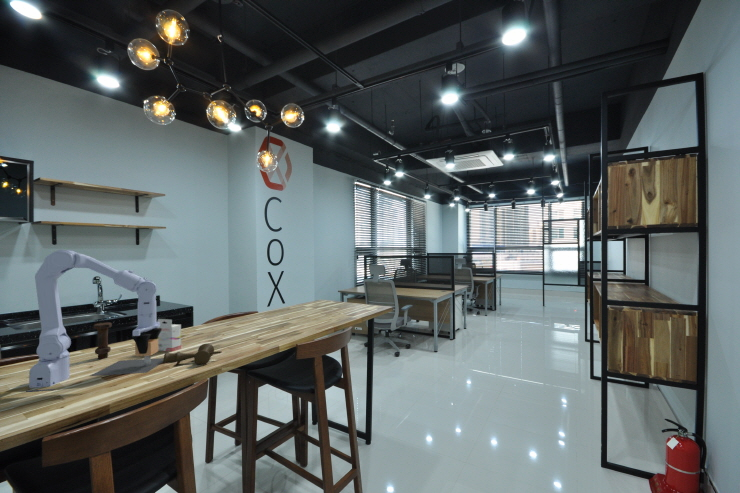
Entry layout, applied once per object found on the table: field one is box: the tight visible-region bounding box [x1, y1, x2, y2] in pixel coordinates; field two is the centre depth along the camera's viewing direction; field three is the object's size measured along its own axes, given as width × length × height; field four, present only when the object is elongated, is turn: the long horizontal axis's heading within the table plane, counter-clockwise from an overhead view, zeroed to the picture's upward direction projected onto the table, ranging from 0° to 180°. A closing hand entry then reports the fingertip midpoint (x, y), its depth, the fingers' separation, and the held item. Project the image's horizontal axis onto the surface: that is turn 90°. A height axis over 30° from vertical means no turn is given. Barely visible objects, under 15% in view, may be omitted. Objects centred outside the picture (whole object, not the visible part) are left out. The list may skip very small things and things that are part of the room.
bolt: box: [93, 322, 113, 360], centre depth 129 cm, size 6×5×15 cm
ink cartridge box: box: [157, 318, 182, 352], centre depth 140 cm, size 9×5×15 cm, turn 73°
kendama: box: [163, 343, 222, 366], centre depth 126 cm, size 6×10×20 cm
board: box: [89, 355, 164, 377], centre depth 118 cm, size 16×18×6 cm
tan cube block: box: [134, 339, 159, 357], centre depth 119 cm, size 5×5×4 cm
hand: (147, 351), depth 119 cm, fingers closed on tan cube block, 5 cm apart
